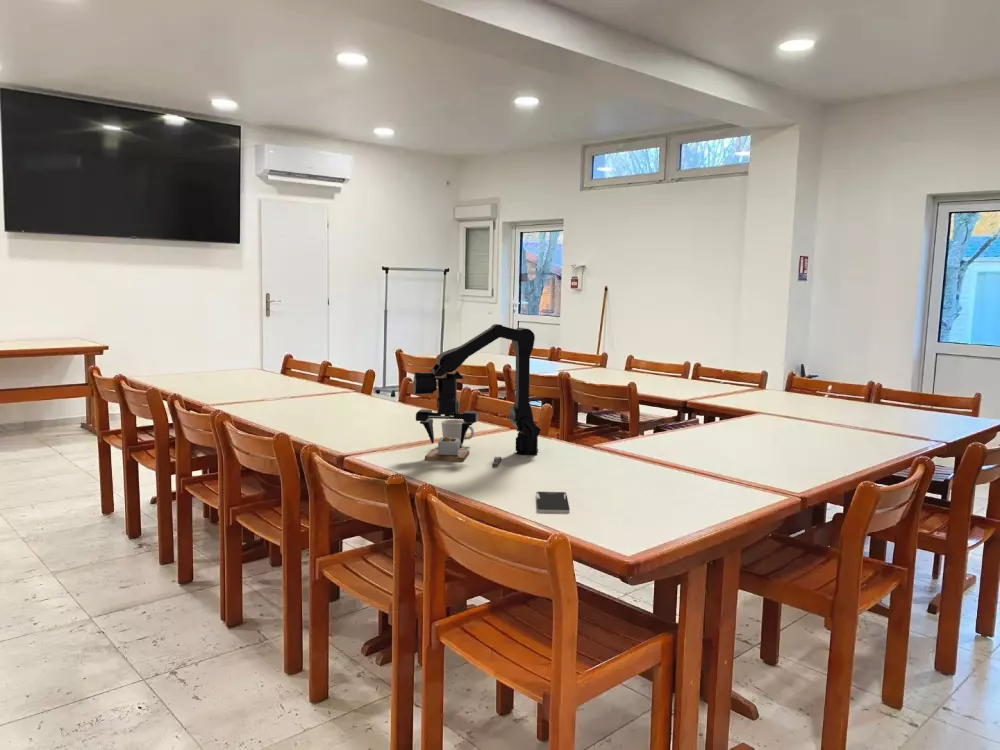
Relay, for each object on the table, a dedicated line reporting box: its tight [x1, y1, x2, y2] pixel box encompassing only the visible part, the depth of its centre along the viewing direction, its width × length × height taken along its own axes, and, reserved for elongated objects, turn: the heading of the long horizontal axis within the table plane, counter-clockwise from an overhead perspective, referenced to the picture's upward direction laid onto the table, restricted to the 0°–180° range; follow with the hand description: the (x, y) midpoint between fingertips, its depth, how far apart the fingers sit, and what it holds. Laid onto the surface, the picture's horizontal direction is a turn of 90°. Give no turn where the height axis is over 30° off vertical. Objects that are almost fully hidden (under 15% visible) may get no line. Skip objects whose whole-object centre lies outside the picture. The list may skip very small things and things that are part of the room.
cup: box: [441, 419, 475, 446], centre depth 243 cm, size 11×8×8 cm
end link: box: [437, 437, 461, 455], centre depth 226 cm, size 6×6×4 cm
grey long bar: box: [491, 456, 502, 468], centre depth 219 cm, size 2×9×2 cm, turn 173°
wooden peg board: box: [424, 437, 470, 462], centre depth 227 cm, size 12×10×6 cm
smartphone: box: [535, 490, 571, 514], centre depth 179 cm, size 8×1×15 cm
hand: (447, 443), depth 227 cm, fingers open, 9 cm apart
